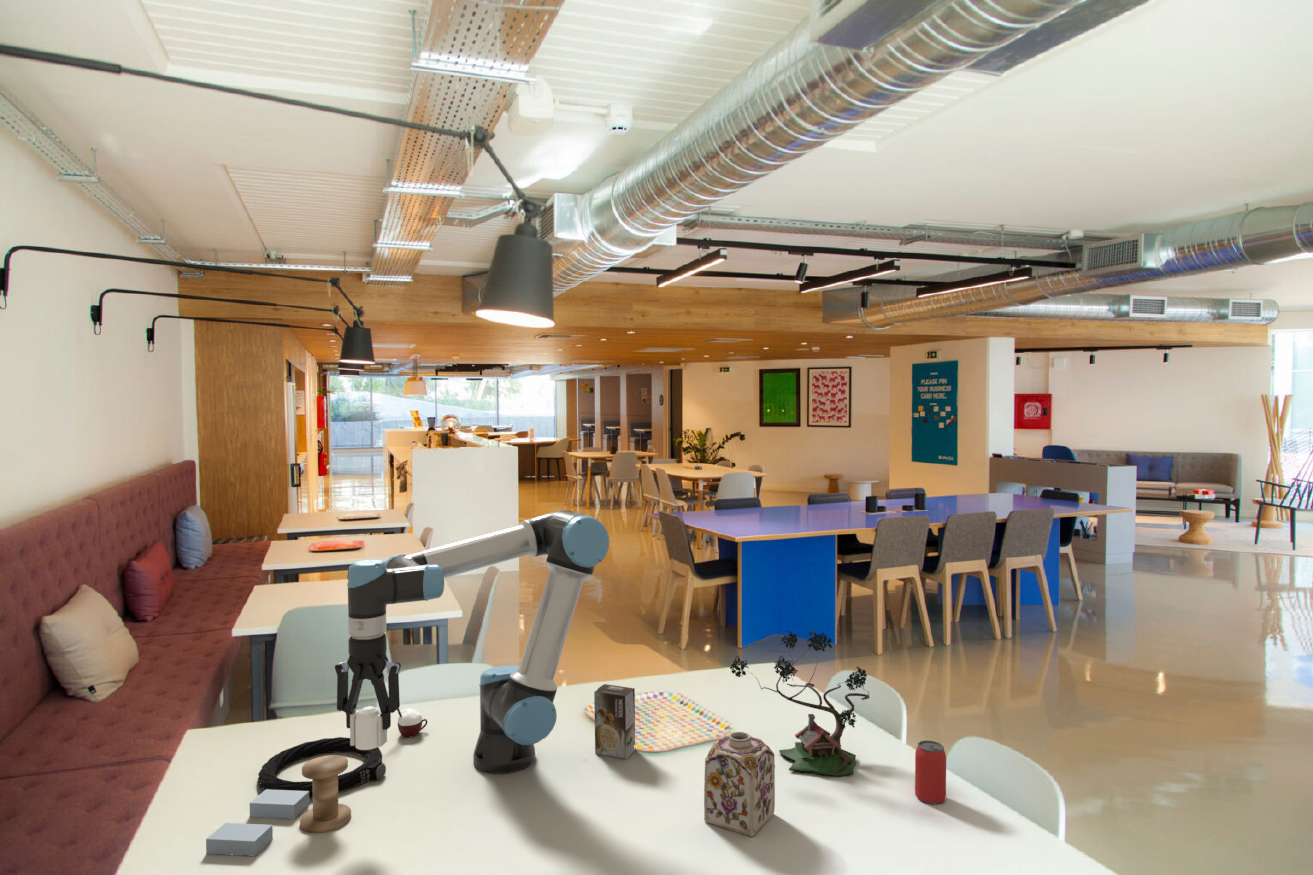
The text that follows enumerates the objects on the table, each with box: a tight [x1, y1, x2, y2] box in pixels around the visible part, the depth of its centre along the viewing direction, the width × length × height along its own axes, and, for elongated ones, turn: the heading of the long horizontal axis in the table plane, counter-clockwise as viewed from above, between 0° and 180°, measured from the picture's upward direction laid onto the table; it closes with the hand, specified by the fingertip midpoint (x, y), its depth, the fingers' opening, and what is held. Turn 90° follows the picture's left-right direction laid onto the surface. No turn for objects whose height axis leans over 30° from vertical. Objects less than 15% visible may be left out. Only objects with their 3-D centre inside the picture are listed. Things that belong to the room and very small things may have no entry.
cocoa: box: [396, 707, 428, 738], centre depth 207 cm, size 10×6×12 cm, turn 97°
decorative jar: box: [703, 731, 776, 838], centre depth 164 cm, size 12×12×18 cm
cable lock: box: [257, 736, 387, 798], centre depth 185 cm, size 28×4×30 cm
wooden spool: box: [299, 754, 352, 834], centre depth 163 cm, size 10×10×12 cm
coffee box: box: [593, 683, 636, 759], centre depth 196 cm, size 9×6×16 cm
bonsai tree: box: [729, 630, 870, 777], centre depth 193 cm, size 35×24×32 cm
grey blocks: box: [205, 789, 310, 857], centre depth 160 cm, size 10×20×3 cm, turn 175°
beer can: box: [914, 740, 947, 805], centre depth 172 cm, size 7×7×12 cm
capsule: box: [355, 705, 381, 750], centre depth 162 cm, size 5×5×8 cm
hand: (368, 743), depth 162 cm, fingers closed on capsule, 5 cm apart
